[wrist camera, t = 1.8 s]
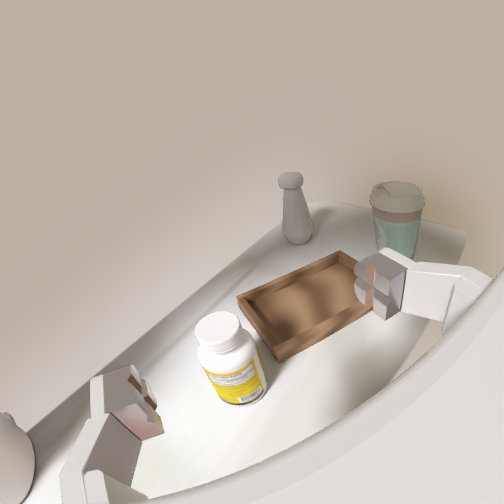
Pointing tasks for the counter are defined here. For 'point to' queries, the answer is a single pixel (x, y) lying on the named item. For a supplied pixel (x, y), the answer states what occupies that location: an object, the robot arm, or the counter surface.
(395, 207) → the coffee cup
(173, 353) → the counter surface
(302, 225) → the salt shaker
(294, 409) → the counter surface
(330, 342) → the counter surface
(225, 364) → the supplement bottle
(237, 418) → the counter surface
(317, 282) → the tray
